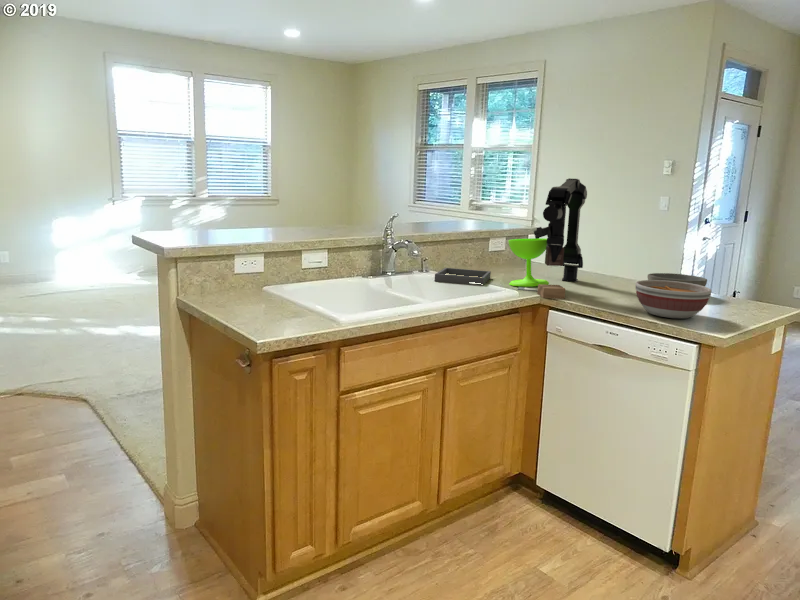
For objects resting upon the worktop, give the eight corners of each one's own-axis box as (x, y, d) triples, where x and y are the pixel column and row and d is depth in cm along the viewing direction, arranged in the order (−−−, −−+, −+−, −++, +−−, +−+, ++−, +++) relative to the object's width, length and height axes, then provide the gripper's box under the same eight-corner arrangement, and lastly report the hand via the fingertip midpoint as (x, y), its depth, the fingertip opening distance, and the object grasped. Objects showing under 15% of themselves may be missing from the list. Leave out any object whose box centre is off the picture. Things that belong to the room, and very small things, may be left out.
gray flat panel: (520, 285, 246) (520, 284, 246) (555, 288, 242) (555, 287, 242) (517, 289, 236) (517, 288, 236) (554, 293, 233) (554, 291, 232)
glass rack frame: (445, 274, 267) (445, 267, 267) (490, 278, 262) (490, 271, 261) (434, 281, 248) (434, 274, 248) (483, 285, 243) (483, 278, 242)
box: (560, 264, 238) (561, 245, 237) (562, 266, 232) (564, 247, 231) (544, 263, 239) (545, 245, 237) (546, 265, 233) (548, 246, 231)
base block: (537, 294, 230) (538, 284, 229) (558, 295, 230) (559, 284, 229) (542, 298, 222) (543, 288, 221) (564, 299, 222) (565, 288, 222)
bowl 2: (671, 325, 186) (675, 293, 184) (617, 309, 206) (620, 280, 204) (723, 321, 195) (728, 290, 193) (667, 306, 215) (670, 278, 213)
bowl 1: (645, 297, 232) (647, 276, 230) (645, 289, 251) (647, 269, 249) (706, 303, 224) (709, 282, 222) (702, 294, 243) (705, 274, 241)
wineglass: (504, 282, 254) (503, 239, 251) (541, 280, 255) (541, 237, 253) (515, 287, 238) (514, 241, 236) (554, 285, 240) (554, 239, 237)
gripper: (536, 218, 243) (533, 257, 246) (534, 220, 225) (531, 262, 228) (565, 219, 240) (562, 259, 243) (565, 222, 222) (561, 264, 225)
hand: (553, 261), depth 235 cm, fingers closed on box, 6 cm apart
